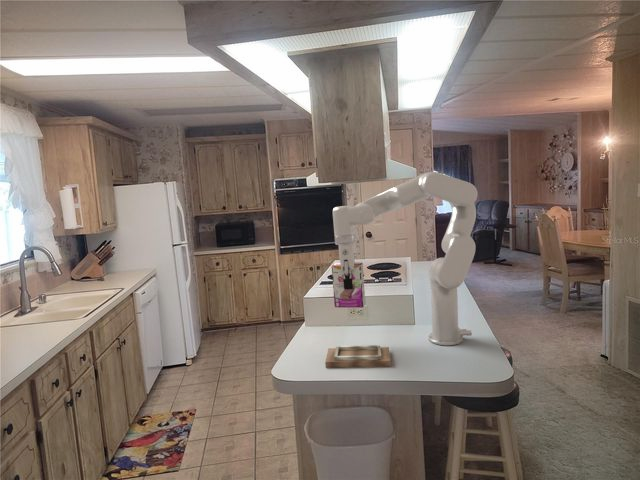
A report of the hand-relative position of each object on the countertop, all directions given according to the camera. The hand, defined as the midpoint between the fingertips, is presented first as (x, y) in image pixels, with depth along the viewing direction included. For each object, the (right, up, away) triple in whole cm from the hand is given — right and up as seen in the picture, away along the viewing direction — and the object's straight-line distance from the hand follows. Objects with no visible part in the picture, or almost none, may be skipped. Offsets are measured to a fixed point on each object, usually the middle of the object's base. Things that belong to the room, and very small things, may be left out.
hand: (348, 286), depth 162 cm
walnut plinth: (+3, -25, -10) cm, 27 cm away
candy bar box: (+1, -8, +1) cm, 8 cm away
